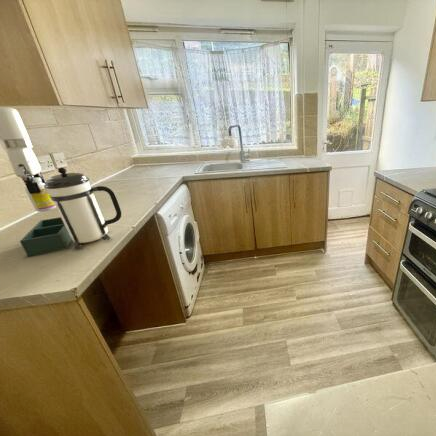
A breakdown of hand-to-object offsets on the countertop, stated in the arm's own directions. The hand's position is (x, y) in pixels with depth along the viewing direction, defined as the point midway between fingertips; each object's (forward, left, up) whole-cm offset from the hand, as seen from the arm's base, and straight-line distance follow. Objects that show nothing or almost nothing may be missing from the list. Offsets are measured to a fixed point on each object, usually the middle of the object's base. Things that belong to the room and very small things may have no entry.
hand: (39, 190), depth 97 cm
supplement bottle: (0, 0, -8) cm, 8 cm away
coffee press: (+15, -12, -20) cm, 28 cm away
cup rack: (0, -5, -20) cm, 21 cm away
